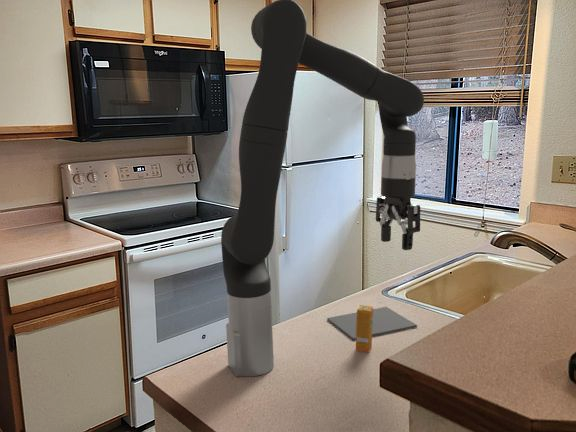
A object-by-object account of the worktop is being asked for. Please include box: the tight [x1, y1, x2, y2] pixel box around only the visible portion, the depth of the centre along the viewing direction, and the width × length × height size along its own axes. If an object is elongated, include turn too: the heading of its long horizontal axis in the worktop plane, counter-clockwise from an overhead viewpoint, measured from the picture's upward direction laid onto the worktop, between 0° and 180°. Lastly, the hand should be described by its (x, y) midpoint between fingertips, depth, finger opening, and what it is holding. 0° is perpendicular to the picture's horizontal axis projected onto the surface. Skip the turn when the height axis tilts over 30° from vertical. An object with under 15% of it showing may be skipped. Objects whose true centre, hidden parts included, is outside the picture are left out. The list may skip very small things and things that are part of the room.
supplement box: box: [355, 304, 374, 353], centre depth 120 cm, size 3×3×10 cm
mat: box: [327, 306, 418, 341], centre depth 135 cm, size 18×14×1 cm
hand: (396, 245), depth 122 cm, fingers open, 8 cm apart
